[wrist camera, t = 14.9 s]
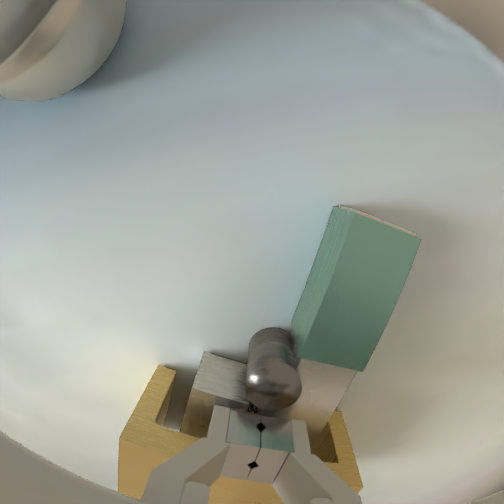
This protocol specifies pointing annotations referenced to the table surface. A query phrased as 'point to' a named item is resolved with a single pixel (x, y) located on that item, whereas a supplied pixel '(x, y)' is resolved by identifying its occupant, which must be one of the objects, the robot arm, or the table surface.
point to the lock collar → (173, 442)
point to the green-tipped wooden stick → (332, 320)
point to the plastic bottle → (54, 44)
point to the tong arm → (214, 392)
